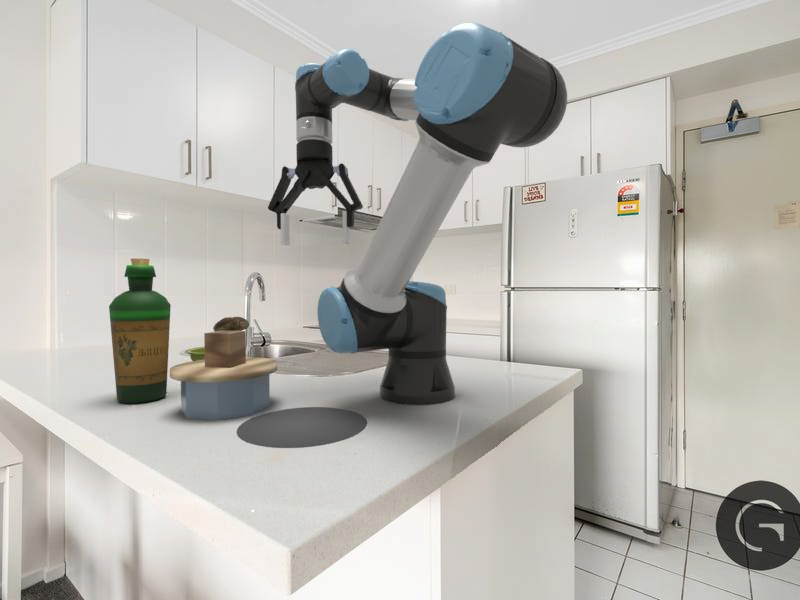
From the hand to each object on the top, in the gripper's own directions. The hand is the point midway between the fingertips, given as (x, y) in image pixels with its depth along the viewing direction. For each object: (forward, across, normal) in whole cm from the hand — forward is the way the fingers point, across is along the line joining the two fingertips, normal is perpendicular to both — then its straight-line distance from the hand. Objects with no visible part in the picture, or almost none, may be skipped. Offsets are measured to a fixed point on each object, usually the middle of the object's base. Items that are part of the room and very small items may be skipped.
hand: (315, 244), depth 92 cm
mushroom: (+32, -28, +13) cm, 44 cm away
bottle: (+32, -32, -12) cm, 47 cm away
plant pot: (+32, -24, -1) cm, 40 cm away
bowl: (+32, -12, -16) cm, 37 cm away
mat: (+32, +6, -24) cm, 40 cm away
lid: (+25, -11, -16) cm, 32 cm away
